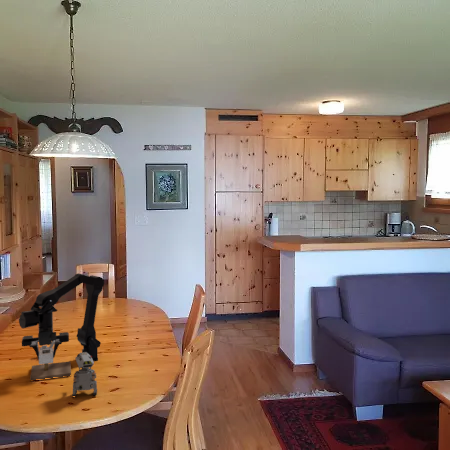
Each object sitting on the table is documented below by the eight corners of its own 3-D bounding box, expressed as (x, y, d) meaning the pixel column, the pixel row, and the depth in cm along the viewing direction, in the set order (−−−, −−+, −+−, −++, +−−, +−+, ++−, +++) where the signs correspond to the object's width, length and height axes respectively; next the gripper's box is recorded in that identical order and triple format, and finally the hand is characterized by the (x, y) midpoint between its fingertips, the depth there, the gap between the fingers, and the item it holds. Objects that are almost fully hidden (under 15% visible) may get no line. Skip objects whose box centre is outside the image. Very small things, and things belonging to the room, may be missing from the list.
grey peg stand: (70, 364, 199) (70, 347, 199) (70, 376, 186) (70, 358, 185) (32, 368, 193) (32, 351, 193) (30, 381, 180) (29, 363, 180)
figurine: (98, 385, 177) (97, 349, 176) (96, 398, 166) (95, 360, 165) (74, 387, 175) (74, 351, 174) (71, 400, 164) (70, 362, 163)
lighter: (39, 357, 207) (39, 341, 207) (40, 356, 209) (40, 339, 208) (55, 356, 208) (55, 340, 208) (56, 355, 210) (55, 339, 210)
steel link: (53, 356, 193) (53, 348, 193) (53, 362, 186) (52, 353, 186) (39, 358, 191) (39, 349, 191) (38, 364, 184) (38, 355, 184)
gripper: (20, 330, 177) (21, 368, 178) (68, 326, 183) (69, 362, 184) (22, 323, 187) (23, 358, 188) (68, 319, 194) (69, 353, 195)
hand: (46, 358), depth 189 cm, fingers closed on steel link, 6 cm apart
